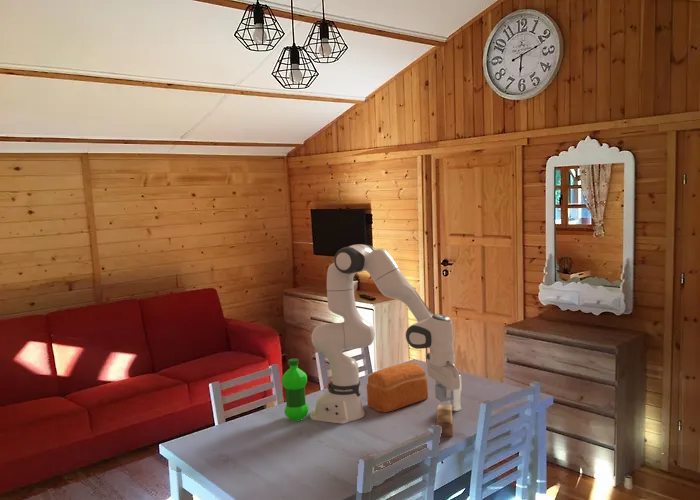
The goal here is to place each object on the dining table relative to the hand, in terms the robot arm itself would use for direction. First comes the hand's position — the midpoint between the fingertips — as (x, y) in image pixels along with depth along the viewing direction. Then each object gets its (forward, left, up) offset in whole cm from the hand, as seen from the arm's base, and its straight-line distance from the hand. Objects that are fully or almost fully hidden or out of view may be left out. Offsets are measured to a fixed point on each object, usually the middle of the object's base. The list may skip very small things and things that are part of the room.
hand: (444, 394), depth 222 cm
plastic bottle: (-61, +7, -15) cm, 63 cm away
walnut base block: (0, 0, -15) cm, 15 cm away
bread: (-22, +29, -15) cm, 40 cm away
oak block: (0, 0, -10) cm, 10 cm away
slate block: (0, 0, -2) cm, 2 cm away
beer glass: (+2, +24, -15) cm, 28 cm away
